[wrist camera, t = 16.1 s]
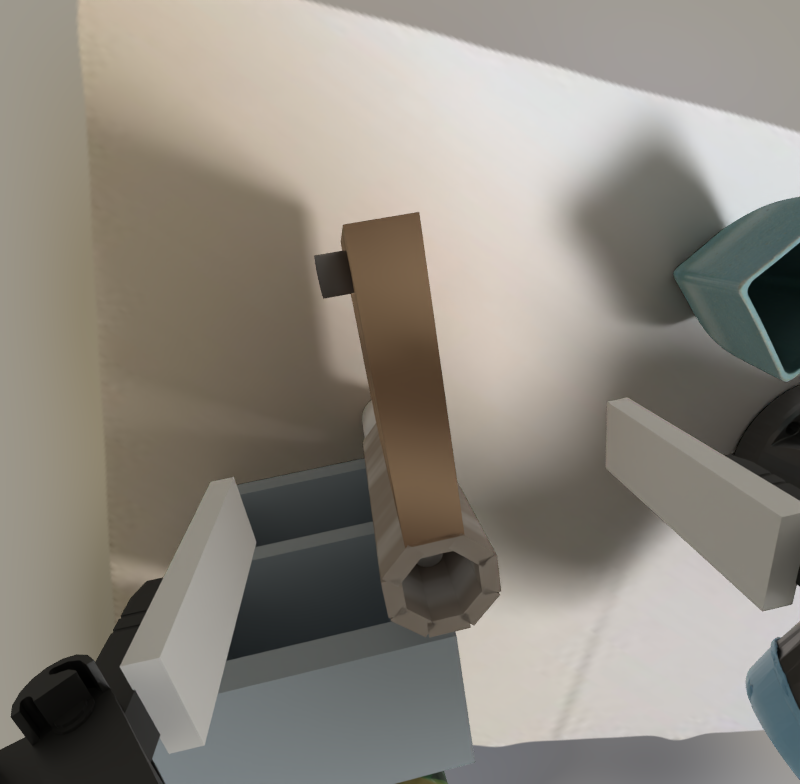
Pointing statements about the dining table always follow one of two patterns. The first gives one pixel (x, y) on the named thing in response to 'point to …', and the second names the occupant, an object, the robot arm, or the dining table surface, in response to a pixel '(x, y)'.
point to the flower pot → (751, 288)
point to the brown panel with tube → (410, 433)
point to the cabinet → (325, 654)
